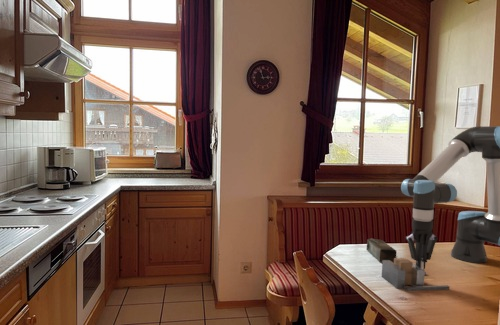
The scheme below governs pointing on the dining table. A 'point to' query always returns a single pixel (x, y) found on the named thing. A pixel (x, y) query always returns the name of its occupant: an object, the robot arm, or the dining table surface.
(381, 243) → the beverage carton
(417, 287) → the vise body
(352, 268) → the dining table surface
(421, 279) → the block
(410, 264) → the block
